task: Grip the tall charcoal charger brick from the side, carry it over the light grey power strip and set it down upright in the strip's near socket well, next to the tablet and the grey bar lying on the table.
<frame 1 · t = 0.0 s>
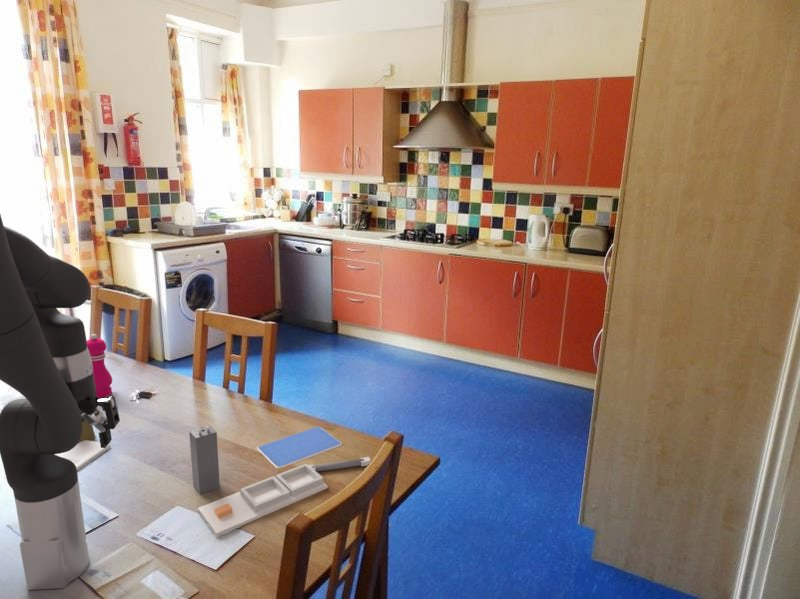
hand: (82, 446, 103), 17 cm above the table, tool pointing down, fingers open, 8 cm apart
grey bar: (338, 468, 128), on the table, touching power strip
tablet computer: (299, 450, 138), on the table
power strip: (265, 500, 116), on the table
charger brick: (206, 486, 120), on the table
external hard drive: (78, 460, 129), on the table
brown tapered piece: (82, 440, 138), on the table
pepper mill: (100, 395, 164), on the table
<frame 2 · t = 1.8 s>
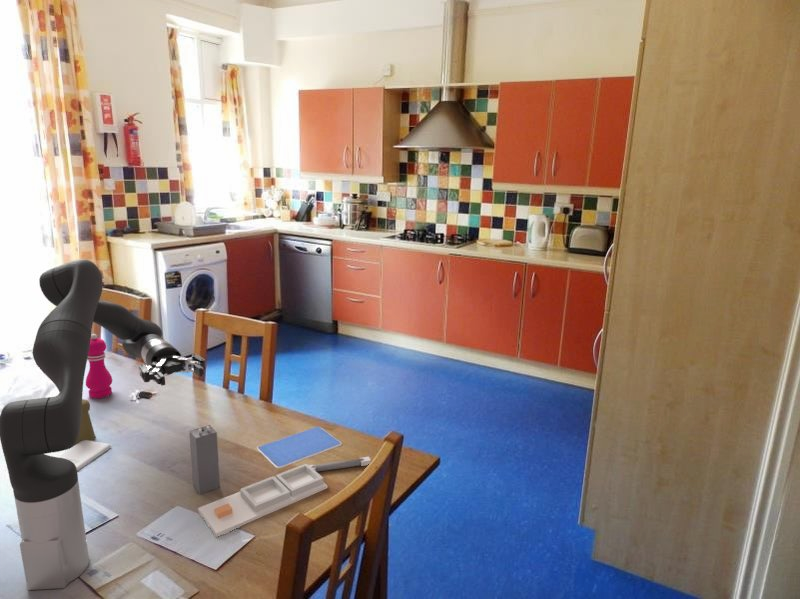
hand: (182, 377, 122), 23 cm above the table, tool horizontal, fingers open, 8 cm apart
nothing on the table moved.
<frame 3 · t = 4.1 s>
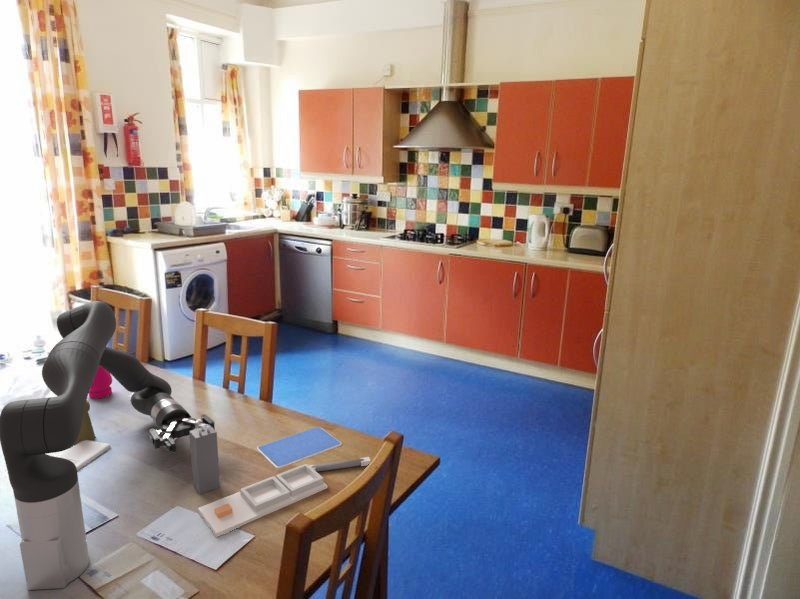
hand: (193, 442, 123), 8 cm above the table, tool horizontal, fingers open, 8 cm apart
nothing on the table moved.
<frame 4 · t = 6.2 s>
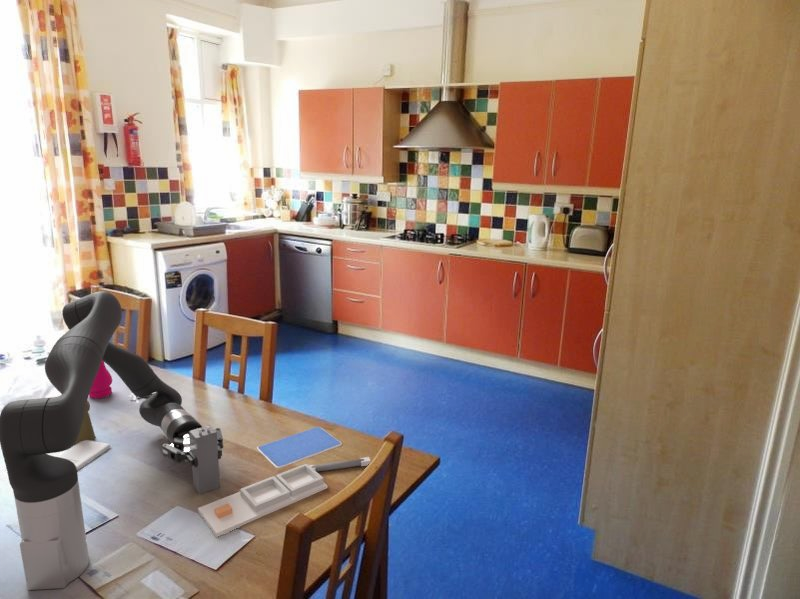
hand: (208, 459, 116), 8 cm above the table, tool horizontal, fingers closed on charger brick, 4 cm apart
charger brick: (206, 486, 120), on the table, touching gripper
everything else where it was.
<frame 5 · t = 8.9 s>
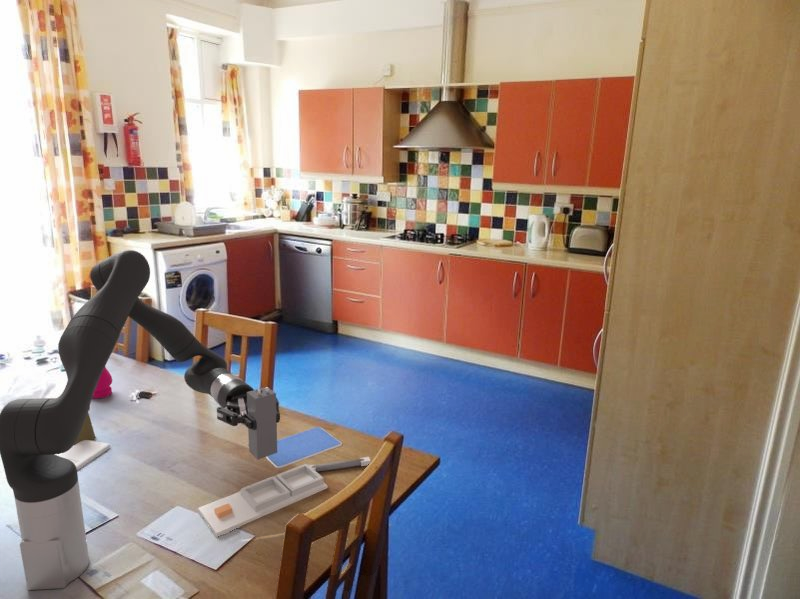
hand: (266, 422, 109), 20 cm above the table, tool horizontal, fingers closed on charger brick, 4 cm apart
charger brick: (263, 452, 113), point 12 cm above the table, touching gripper
everything else where it was.
when the fingers open (9 cm above the table, at t = 11.7 s): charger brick stays where it is, resting on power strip.
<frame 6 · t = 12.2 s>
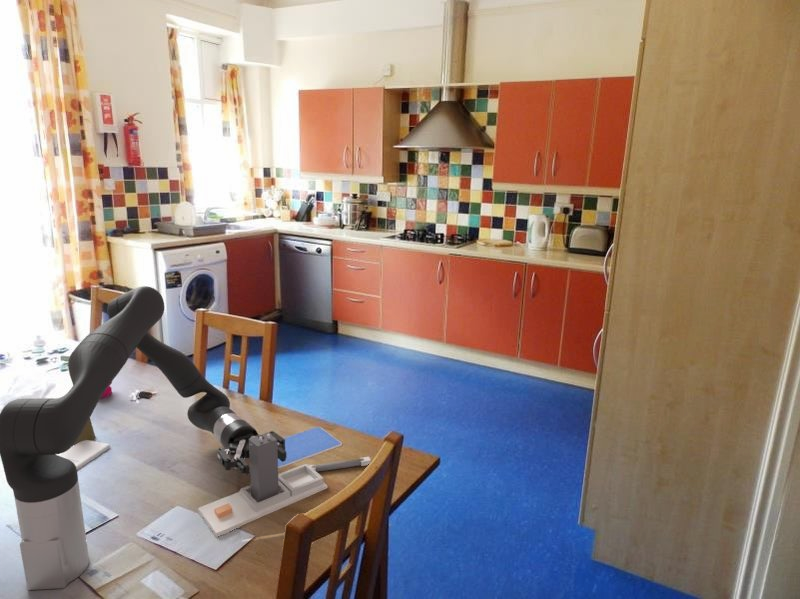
hand: (266, 464, 112), 10 cm above the table, tool horizontal, fingers open, 8 cm apart
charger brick: (264, 496, 116), point 1 cm above the table, touching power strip
everything else where it was.
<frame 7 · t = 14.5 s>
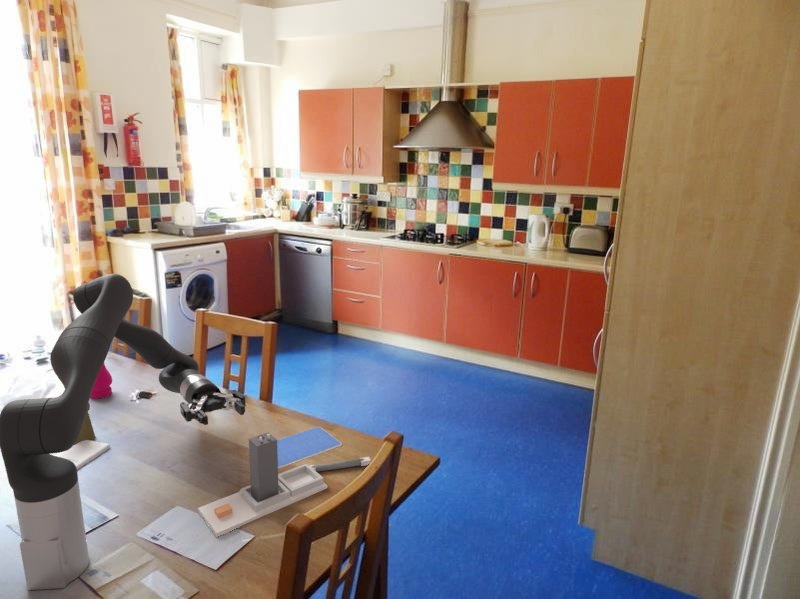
hand: (225, 416, 120), 16 cm above the table, tool horizontal, fingers open, 8 cm apart
nothing on the table moved.
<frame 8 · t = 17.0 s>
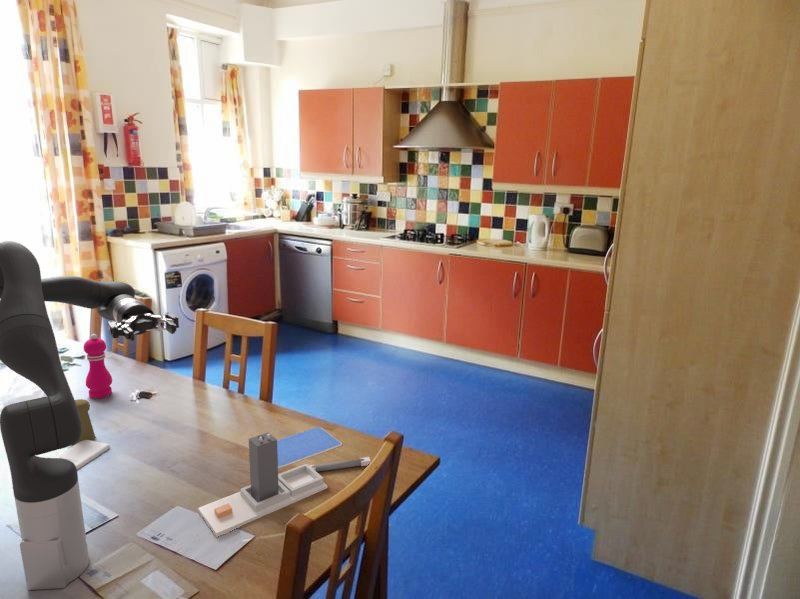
hand: (153, 332, 116), 35 cm above the table, tool horizontal, fingers open, 8 cm apart
nothing on the table moved.
at the end: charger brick 0.1 cm off-centre on the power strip, point 1.0 cm above the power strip's base; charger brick tilted 0°; the gripper is holding nothing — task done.
